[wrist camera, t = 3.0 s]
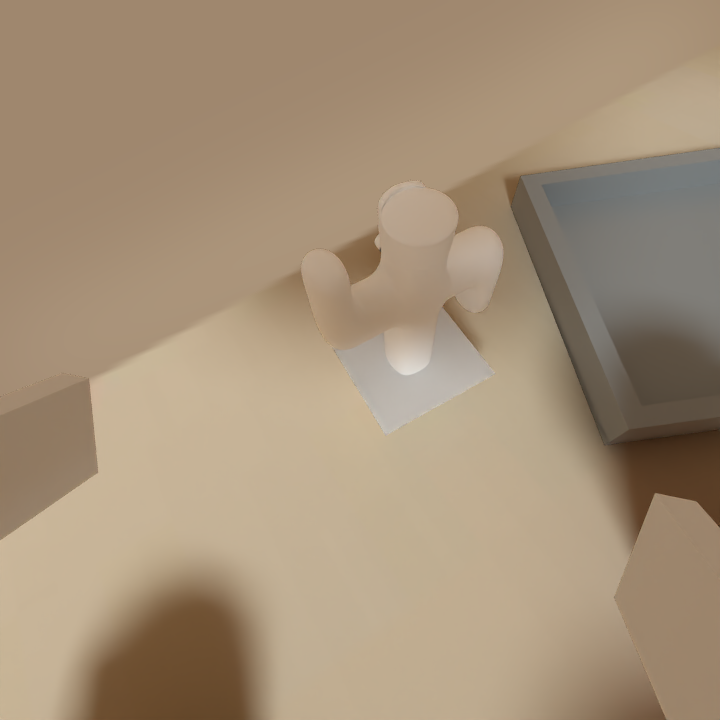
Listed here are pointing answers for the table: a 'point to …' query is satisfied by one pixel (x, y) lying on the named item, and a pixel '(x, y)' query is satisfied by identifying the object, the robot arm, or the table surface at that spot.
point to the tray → (634, 286)
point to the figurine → (408, 305)
